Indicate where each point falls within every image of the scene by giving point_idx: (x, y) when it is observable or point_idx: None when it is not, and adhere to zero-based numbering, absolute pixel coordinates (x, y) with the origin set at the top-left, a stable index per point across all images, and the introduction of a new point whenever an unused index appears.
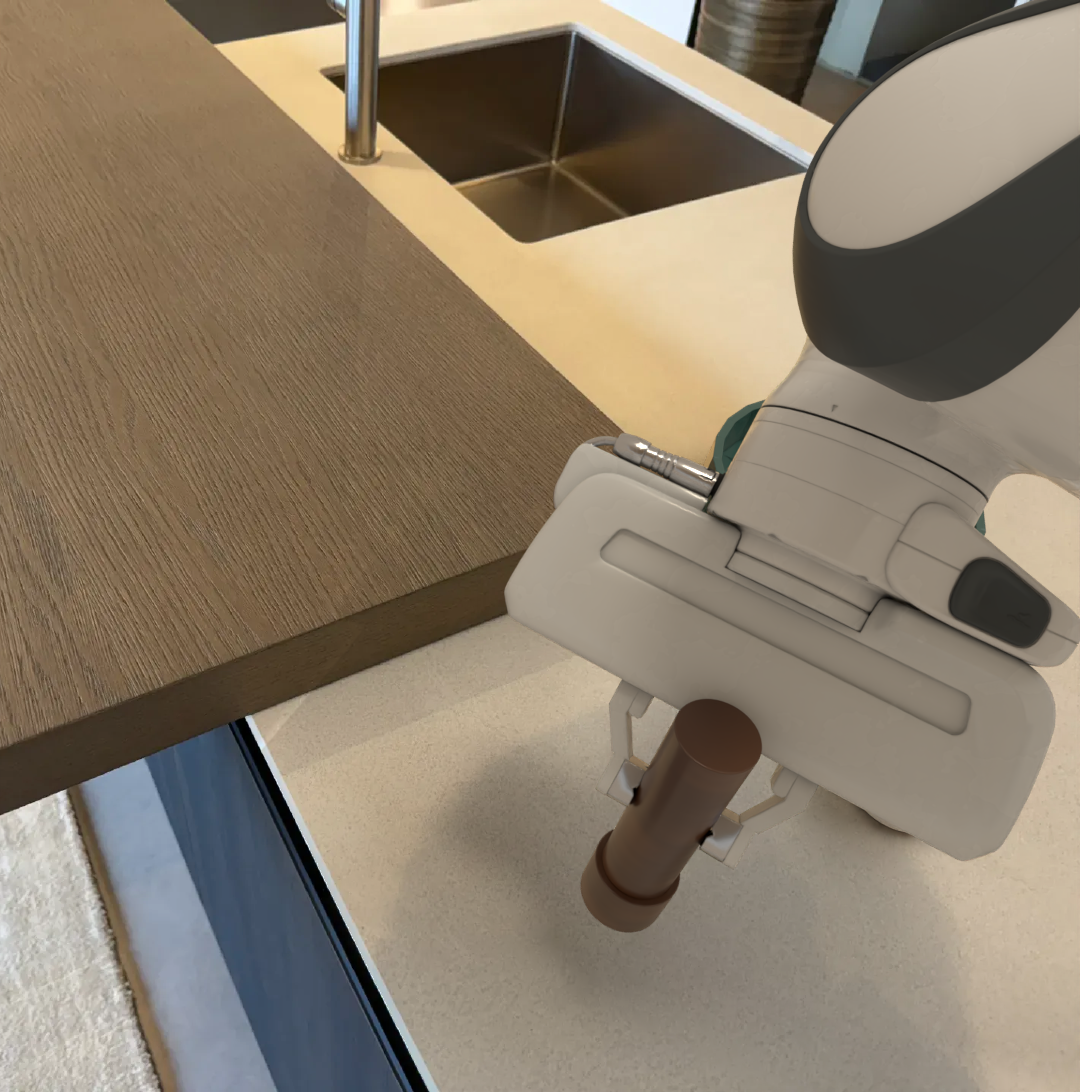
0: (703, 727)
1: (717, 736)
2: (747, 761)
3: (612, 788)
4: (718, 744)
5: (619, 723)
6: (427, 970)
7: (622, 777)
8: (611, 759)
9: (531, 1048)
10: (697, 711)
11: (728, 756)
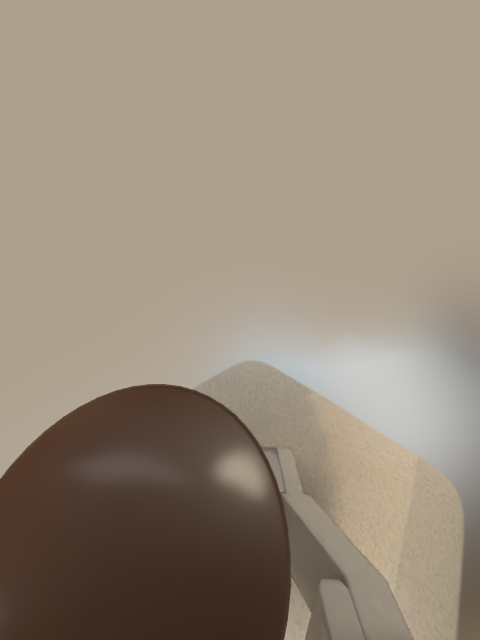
0: (187, 547)
1: (130, 537)
2: (18, 487)
3: (274, 450)
4: (124, 499)
5: (337, 545)
6: (283, 392)
7: (272, 467)
8: (300, 483)
9: (224, 386)
10: (228, 638)
11: (88, 467)
